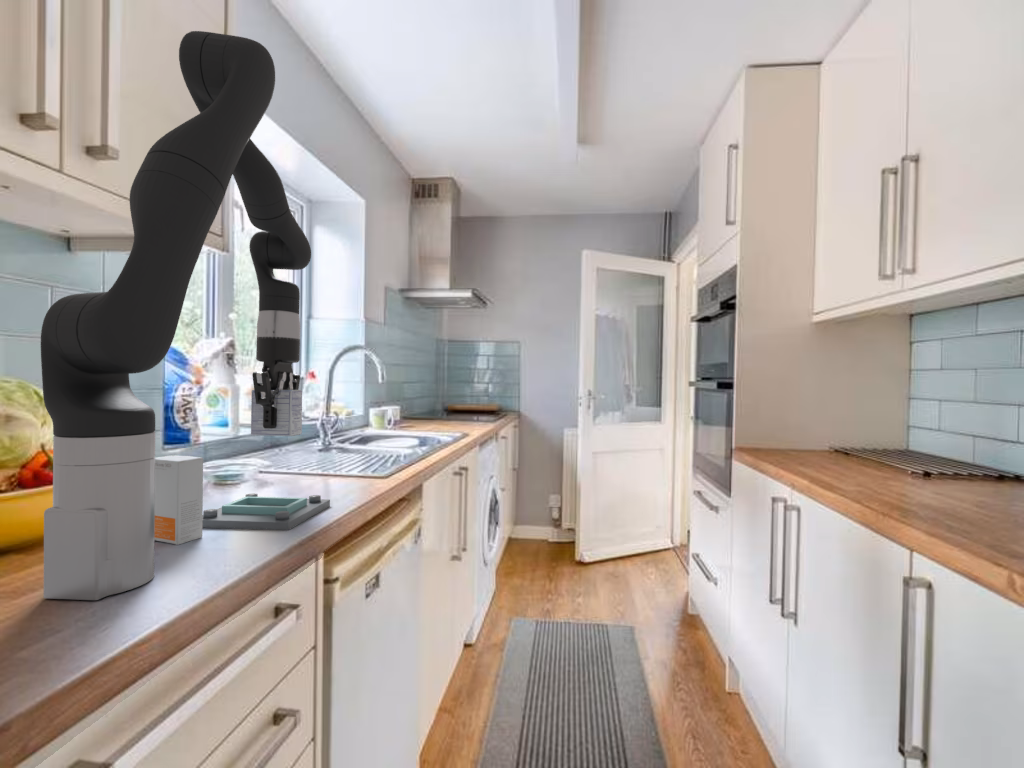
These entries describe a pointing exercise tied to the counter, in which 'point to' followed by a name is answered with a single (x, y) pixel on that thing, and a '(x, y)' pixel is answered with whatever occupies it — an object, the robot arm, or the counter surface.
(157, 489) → the skincare box
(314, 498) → the baseplate
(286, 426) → the medicine box
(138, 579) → the robot arm
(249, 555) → the counter surface
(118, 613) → the counter surface
